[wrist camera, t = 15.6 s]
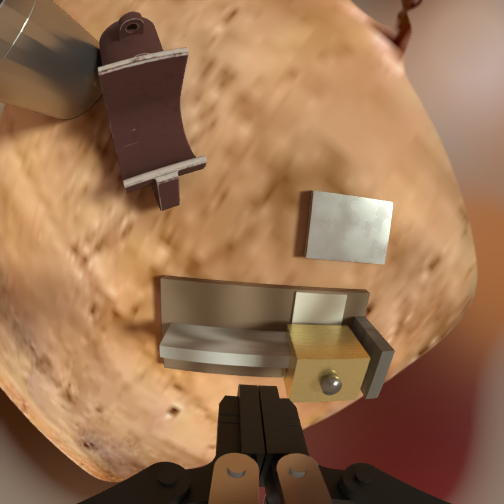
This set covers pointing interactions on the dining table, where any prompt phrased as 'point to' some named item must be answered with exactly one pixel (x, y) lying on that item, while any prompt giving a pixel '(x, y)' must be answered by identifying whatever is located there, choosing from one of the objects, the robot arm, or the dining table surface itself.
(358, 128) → the dining table surface
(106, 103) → the bracket
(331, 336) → the block with knob
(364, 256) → the gray metal plate
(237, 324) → the rail
